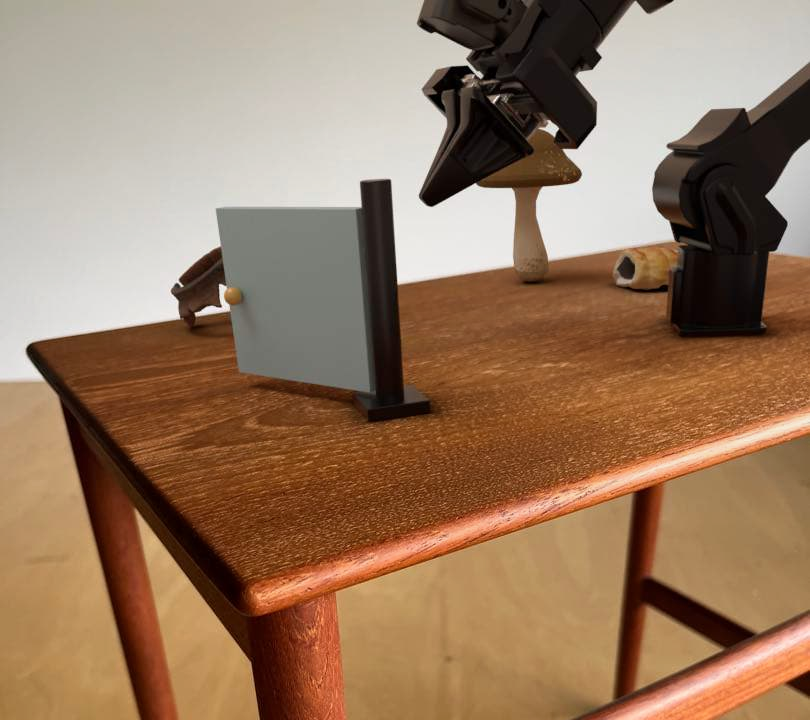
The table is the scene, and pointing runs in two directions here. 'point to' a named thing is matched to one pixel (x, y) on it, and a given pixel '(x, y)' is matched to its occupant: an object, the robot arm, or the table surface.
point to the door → (299, 293)
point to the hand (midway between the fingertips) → (424, 202)
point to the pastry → (644, 267)
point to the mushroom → (533, 199)
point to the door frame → (384, 311)
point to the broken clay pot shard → (200, 286)
